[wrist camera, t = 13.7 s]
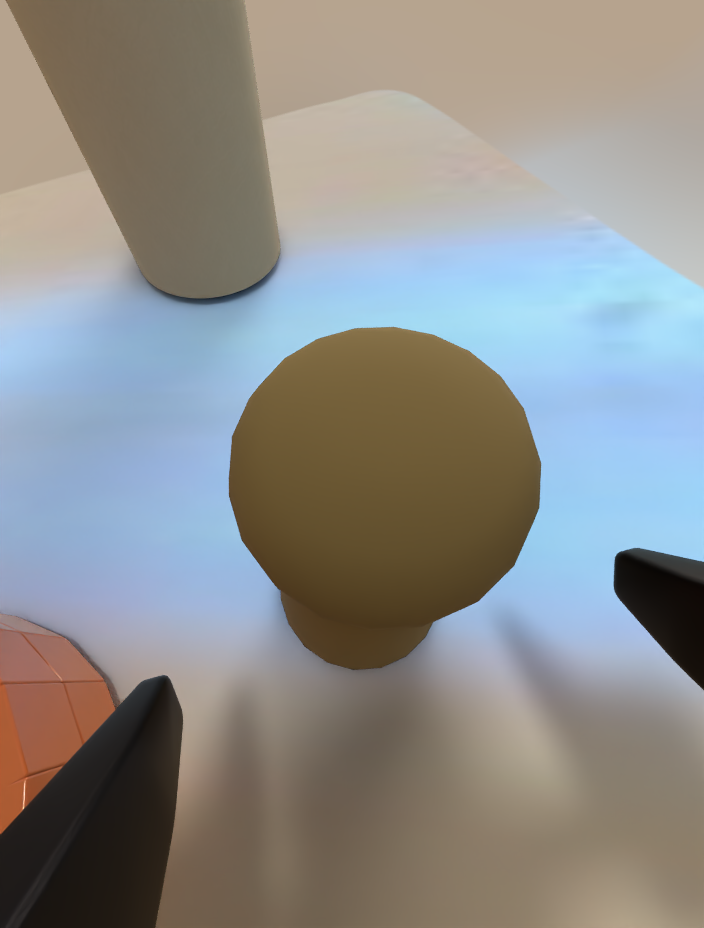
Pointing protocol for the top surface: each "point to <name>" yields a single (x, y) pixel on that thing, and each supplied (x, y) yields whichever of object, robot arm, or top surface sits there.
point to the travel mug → (166, 131)
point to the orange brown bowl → (42, 709)
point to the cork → (382, 488)
